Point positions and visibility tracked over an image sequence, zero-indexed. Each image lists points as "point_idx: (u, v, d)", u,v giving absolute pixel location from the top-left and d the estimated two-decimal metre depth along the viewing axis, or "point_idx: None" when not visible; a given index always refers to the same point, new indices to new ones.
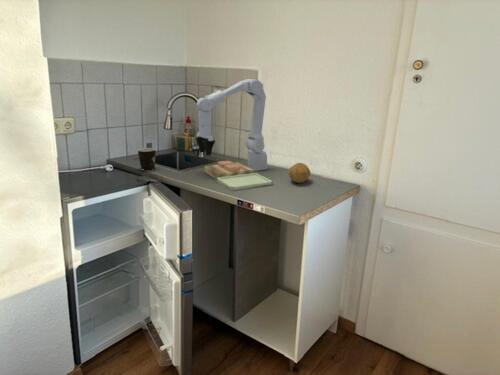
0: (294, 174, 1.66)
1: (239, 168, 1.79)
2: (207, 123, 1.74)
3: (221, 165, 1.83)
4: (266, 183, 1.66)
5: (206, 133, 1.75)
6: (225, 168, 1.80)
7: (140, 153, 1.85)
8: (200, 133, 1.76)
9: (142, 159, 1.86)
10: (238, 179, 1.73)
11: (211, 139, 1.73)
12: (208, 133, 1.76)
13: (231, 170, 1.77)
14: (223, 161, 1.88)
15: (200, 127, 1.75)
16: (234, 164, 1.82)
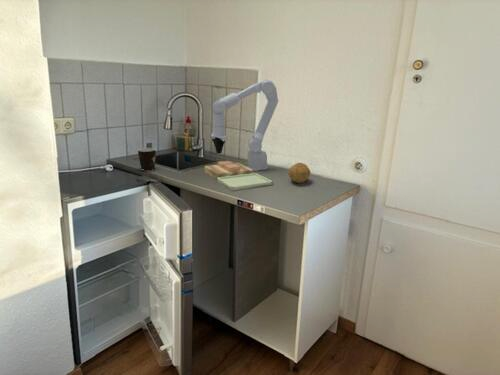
0: (294, 174, 1.66)
1: (239, 168, 1.79)
2: (219, 124, 1.85)
3: (221, 165, 1.83)
4: (266, 183, 1.66)
5: (220, 134, 1.86)
6: (225, 168, 1.80)
7: (140, 153, 1.85)
8: (214, 134, 1.87)
9: (142, 159, 1.86)
10: (238, 179, 1.73)
11: (225, 139, 1.83)
12: (222, 134, 1.87)
13: (231, 170, 1.77)
14: (223, 161, 1.88)
15: (214, 128, 1.86)
16: (234, 164, 1.82)
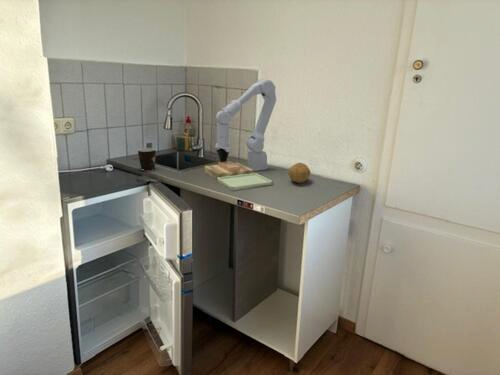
0: (294, 174, 1.66)
1: (239, 168, 1.79)
2: (225, 135, 1.82)
3: (222, 165, 1.82)
4: (266, 183, 1.66)
5: (224, 144, 1.83)
6: (225, 168, 1.79)
7: (140, 153, 1.85)
8: (219, 144, 1.84)
9: (142, 159, 1.86)
10: (238, 179, 1.73)
11: (229, 150, 1.80)
12: (226, 144, 1.84)
13: (231, 170, 1.77)
14: None
15: (219, 139, 1.83)
16: (234, 164, 1.82)
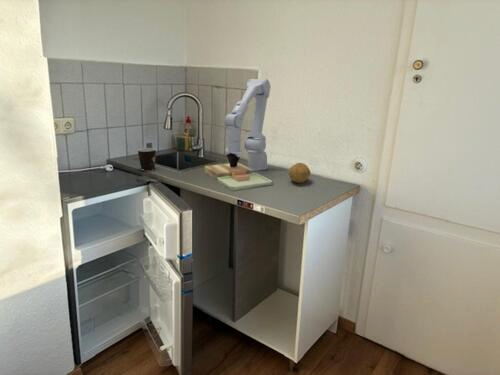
0: (294, 174, 1.66)
1: (248, 178, 1.71)
2: (239, 139, 1.73)
3: (232, 171, 1.73)
4: (266, 183, 1.66)
5: (235, 149, 1.73)
6: (233, 177, 1.72)
7: (140, 153, 1.85)
8: (229, 149, 1.74)
9: (142, 159, 1.86)
10: None
11: (240, 155, 1.70)
12: (237, 149, 1.74)
13: (240, 180, 1.70)
14: (234, 167, 1.77)
15: (229, 143, 1.73)
16: None
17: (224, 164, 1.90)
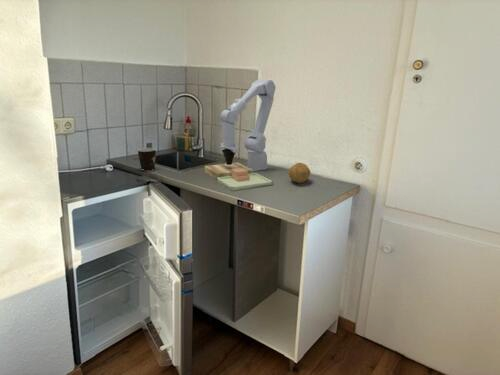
0: (294, 174, 1.66)
1: (248, 178, 1.71)
2: (233, 134, 1.77)
3: (235, 173, 1.71)
4: (266, 183, 1.66)
5: (230, 144, 1.77)
6: (233, 177, 1.72)
7: (140, 153, 1.85)
8: (224, 144, 1.78)
9: (142, 159, 1.86)
10: None
11: (236, 151, 1.74)
12: (232, 144, 1.78)
13: (240, 180, 1.70)
14: None
15: (225, 139, 1.77)
16: None
17: (224, 164, 1.90)
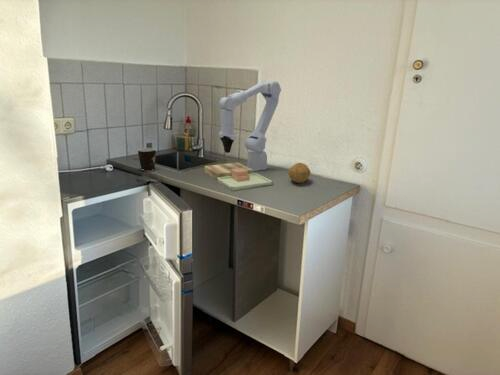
0: (294, 175, 1.66)
1: (248, 178, 1.71)
2: (231, 122, 1.76)
3: (235, 173, 1.71)
4: (266, 183, 1.66)
5: (229, 132, 1.77)
6: (233, 177, 1.72)
7: (140, 153, 1.85)
8: (223, 132, 1.77)
9: (142, 159, 1.86)
10: None
11: (234, 138, 1.74)
12: (231, 132, 1.78)
13: (240, 180, 1.70)
14: None
15: (223, 126, 1.77)
16: None
17: (224, 164, 1.90)
